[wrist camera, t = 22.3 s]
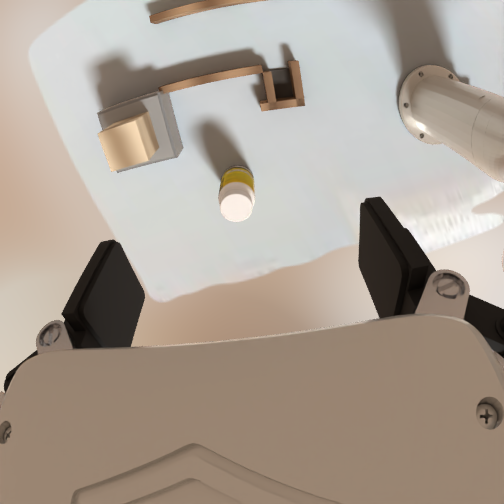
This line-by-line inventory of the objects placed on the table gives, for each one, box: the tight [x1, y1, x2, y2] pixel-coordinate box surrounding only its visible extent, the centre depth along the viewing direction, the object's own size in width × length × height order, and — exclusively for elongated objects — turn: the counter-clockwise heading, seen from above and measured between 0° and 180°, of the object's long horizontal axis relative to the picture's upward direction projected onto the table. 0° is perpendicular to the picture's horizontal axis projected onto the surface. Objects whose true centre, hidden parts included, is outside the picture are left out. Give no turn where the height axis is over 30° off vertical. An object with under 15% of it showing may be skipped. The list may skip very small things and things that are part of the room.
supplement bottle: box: [218, 166, 255, 222], centre depth 41 cm, size 5×5×8 cm
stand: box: [97, 90, 183, 173], centre depth 37 cm, size 9×9×4 cm
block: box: [98, 111, 159, 172], centre depth 33 cm, size 5×5×5 cm
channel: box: [149, 0, 305, 111], centre depth 32 cm, size 18×16×2 cm
